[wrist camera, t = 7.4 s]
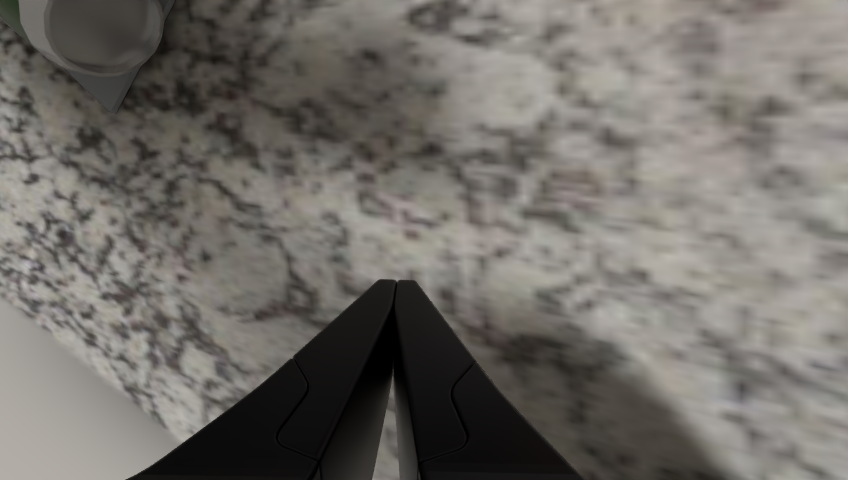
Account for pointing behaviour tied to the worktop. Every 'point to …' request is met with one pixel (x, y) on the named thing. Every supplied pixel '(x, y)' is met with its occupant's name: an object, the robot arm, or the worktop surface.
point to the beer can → (88, 32)
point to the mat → (113, 78)
